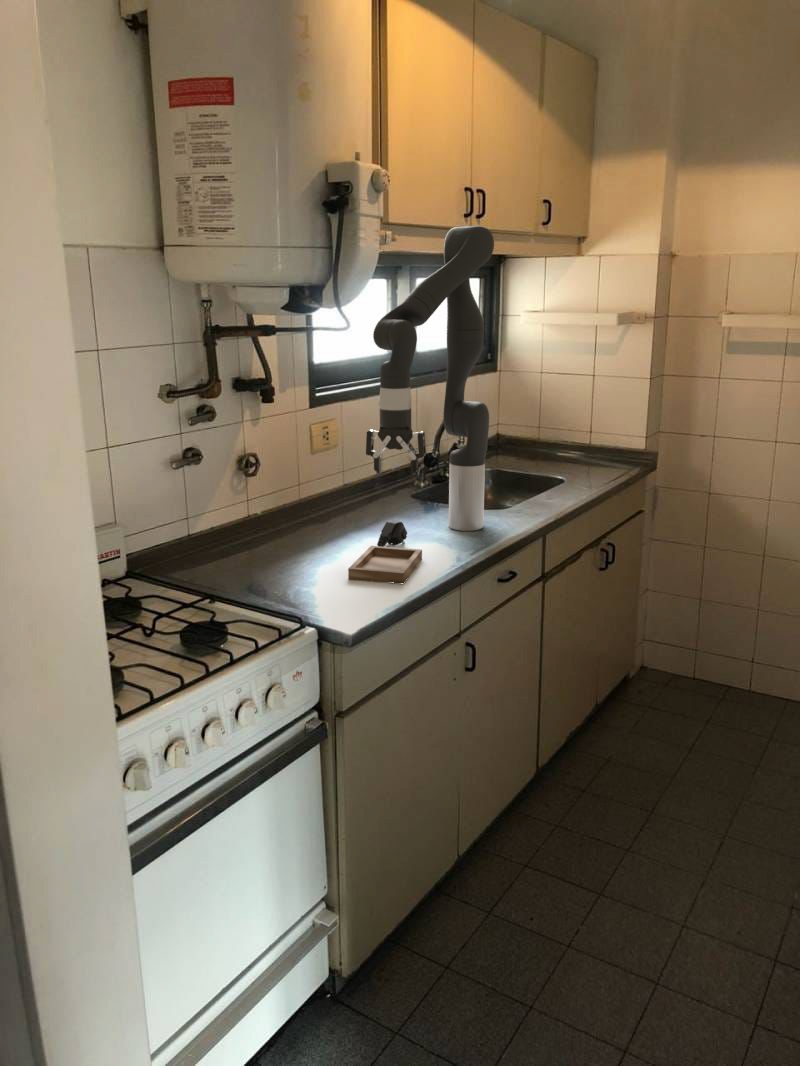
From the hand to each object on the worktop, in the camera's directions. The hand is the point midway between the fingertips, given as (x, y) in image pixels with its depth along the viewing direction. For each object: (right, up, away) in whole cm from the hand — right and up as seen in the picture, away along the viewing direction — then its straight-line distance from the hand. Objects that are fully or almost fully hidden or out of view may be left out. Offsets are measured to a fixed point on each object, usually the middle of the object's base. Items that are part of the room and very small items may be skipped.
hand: (395, 473), depth 205 cm
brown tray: (-2, -23, -12) cm, 26 cm away
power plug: (-2, -18, +3) cm, 19 cm away
